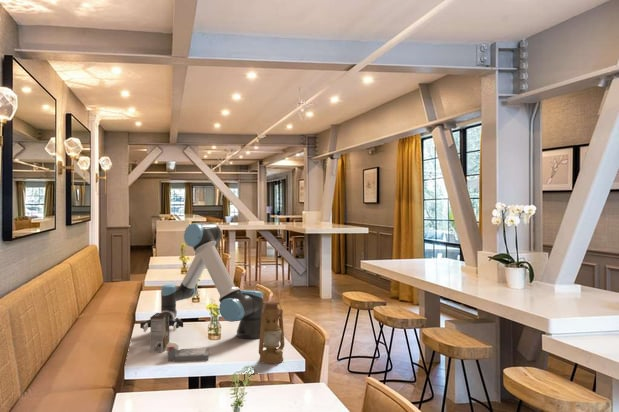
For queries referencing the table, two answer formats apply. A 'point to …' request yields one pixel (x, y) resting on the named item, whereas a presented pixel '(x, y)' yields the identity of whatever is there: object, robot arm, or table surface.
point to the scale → (174, 356)
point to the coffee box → (159, 332)
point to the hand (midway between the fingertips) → (159, 328)
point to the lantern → (271, 333)
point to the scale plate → (192, 352)
